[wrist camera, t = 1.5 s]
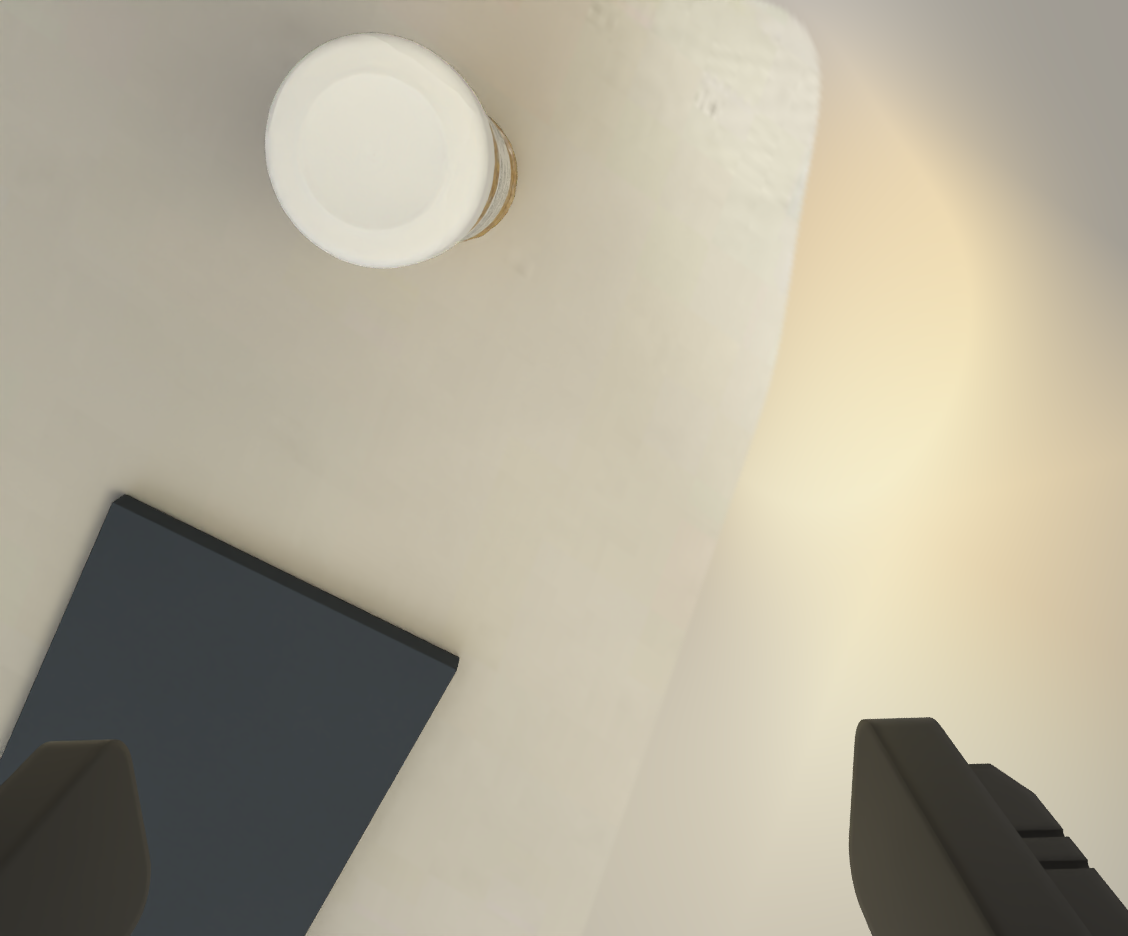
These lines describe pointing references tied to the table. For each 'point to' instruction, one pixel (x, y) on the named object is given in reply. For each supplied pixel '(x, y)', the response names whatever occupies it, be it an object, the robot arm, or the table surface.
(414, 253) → the sprinkles bottle
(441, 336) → the table surface
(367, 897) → the table surface
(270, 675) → the mat
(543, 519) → the table surface
